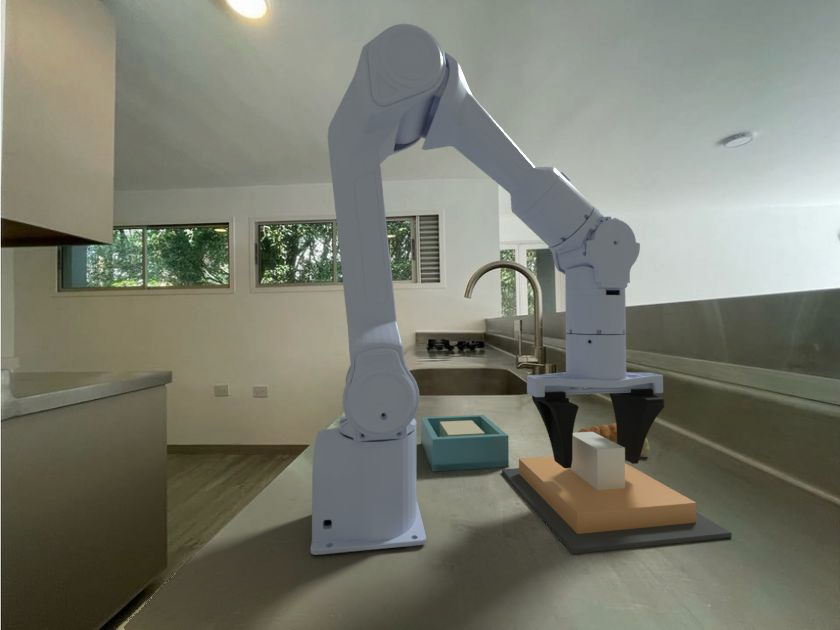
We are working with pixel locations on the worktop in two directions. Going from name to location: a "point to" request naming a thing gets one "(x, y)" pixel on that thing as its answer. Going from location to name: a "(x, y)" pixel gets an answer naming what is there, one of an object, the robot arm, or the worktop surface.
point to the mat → (615, 538)
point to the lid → (604, 489)
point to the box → (463, 443)
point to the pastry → (613, 435)
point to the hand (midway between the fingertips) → (596, 462)
